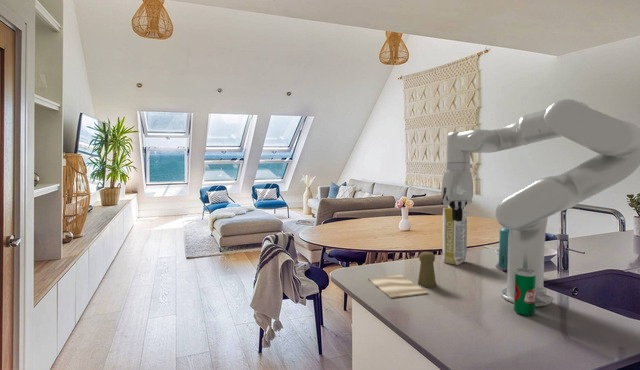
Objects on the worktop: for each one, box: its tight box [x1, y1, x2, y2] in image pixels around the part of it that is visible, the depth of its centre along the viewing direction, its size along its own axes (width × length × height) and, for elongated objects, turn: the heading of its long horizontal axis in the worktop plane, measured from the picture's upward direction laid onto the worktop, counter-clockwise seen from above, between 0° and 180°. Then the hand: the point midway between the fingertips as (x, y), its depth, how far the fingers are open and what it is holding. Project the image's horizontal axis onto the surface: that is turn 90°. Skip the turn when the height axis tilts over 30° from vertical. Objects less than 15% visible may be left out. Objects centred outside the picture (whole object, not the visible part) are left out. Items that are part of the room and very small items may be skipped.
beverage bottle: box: [498, 226, 509, 270], centre depth 134 cm, size 6×7×20 cm
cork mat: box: [367, 274, 429, 299], centre depth 119 cm, size 18×13×1 cm
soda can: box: [513, 268, 536, 317], centre depth 97 cm, size 5×5×12 cm
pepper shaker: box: [417, 251, 437, 288], centre depth 121 cm, size 6×6×11 cm
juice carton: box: [441, 205, 468, 266], centre depth 146 cm, size 9×8×24 cm
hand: (457, 220), depth 123 cm, fingers closed
